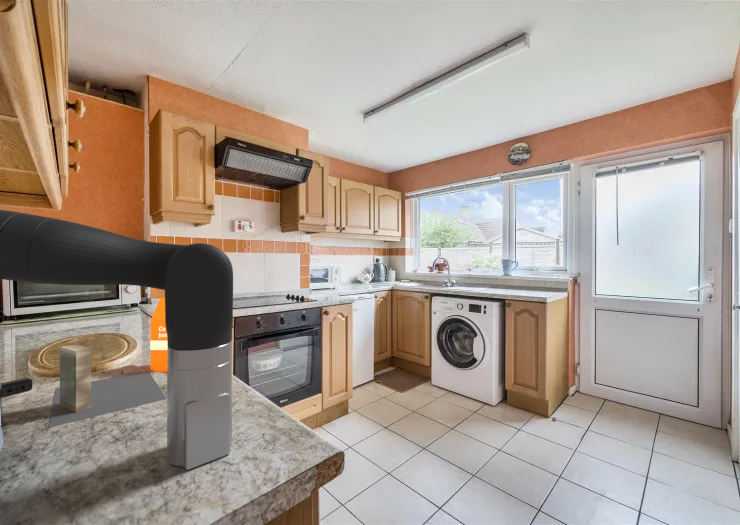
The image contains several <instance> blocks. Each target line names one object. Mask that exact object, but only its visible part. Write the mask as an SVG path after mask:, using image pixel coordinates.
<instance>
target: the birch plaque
mask: <svg viewBox="0 0 740 525" xmlns="http://www.w3.org/2000/svg"><path fill="white" fill-rule="evenodd" d="M91 381H92V348H91V347H87V346H83V345H80V344H70V345H63V346H60V351H59V387H60V405H61V406H63V407H65V408H67V409H69V410H71V411H73V412H75V413H77V412H80V411H83V410H86V409H89V408H91Z"/></svg>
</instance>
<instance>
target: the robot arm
mask: <svg viewBox="0 0 740 525" xmlns="http://www.w3.org/2000/svg"><path fill="white" fill-rule="evenodd" d="M0 280H6V281H13V282H14V281H15V282H16V281H17V282H23V283H24V282H25V283H33V284H45V285H58V286H59V285H62V286H107V285H108V286H111V285H112V286H113V285H114V286H116V285H117V286H119V285H121V286H123V285H125V286H138V287H145V288H151V289H157V290H161V291H163V290H164V298H165V327H166V332H167V346H168V347H167V371H166V378H167V379H166V385H167V386H166V459H167V462H168V463H169V464H171V465H172V466H176V467H182V468H184V469H185V470H186V471H188V470H189V471H190V470H191V469H194V468H196V467H199V466H201V465H205V464H206V463H209V462H212V461H215V460H217V459H220V458H222V457H225V456H227V455H230V453H231V447H232V440H233V438H232V437H233V436H232V435H233V434H232V432H233V431H232V430H233V429H232V428H233V425H232V424H233V421H232V420H233V418H232V417H233V416H232V414H233V413H232V410H233V408H232V406H233V405H232V404H233V399H232V397H233V394H232V391H233V390H232V389H233V386H232V384H233V382H232V381H233V379H232V377H233V376H232V375H233V374H232V373H233V371H232V370H233V366H232V365H233V364H232V363H233V362H232V361H233V326H234V268H233V264H232V262H231V260H230V258H229V257H228V255H227V254H226V252H224V251H223V250H222V249H220V248H218V247H217V246H215V245H212V244H208V243H202V242H198V243H197V242H196V243H190V244H188V245H187V244H176V243H167V242H166V243H165V242H156V241H155V242H154V241H149V240H148V241H147V240H142V239H137V238H134V237H129V236H126V235H122V234H119V233H115V232H112V231H109V230H105V229H101V228H98V227H94V226H89V225H85V224H81V223H78V222H75V221H74V222H73V221H69V220H65V219H59V218H55V217H48V216H42V215H37V214H31V213H25V212H19V211H13V210H12V211H11V210H4V209H0ZM32 389H33V379H31V378H29V377H24V378H18V379H14V380H10V381H7V382H1V383H0V401H1V400H2V399H3V398H7V397H11V396H15V395H19V394H23V393H26V392H30V391H32Z"/></svg>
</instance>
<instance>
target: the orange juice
mask: <svg viewBox="0 0 740 525" xmlns="http://www.w3.org/2000/svg"><path fill="white" fill-rule="evenodd" d="M151 316H152V317H151V318H150V341H149V342H150V347H149V348H150V370H151V371H154V372H167V347H168V346H167V332H166V327H165V297H159V300H158V302H157V305H156V307H155V310H154V312H153V314H152V315H151Z"/></svg>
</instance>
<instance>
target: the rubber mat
mask: <svg viewBox="0 0 740 525" xmlns="http://www.w3.org/2000/svg"><path fill="white" fill-rule="evenodd" d="M52 400H53V401H52V405H51V406H52V407H51V411H50V418H49V424H48V428H53V427H58V426H61V425H65V424H69V423H73V422H78V421H82V420H86V419H90V418H96V417H99V416H102V415H106V414H112V413H115V412H119V411H123V410H127V409H128V410H129V409H131V408H135V407H140V406H144V405H147V404H152V403H155V402H159V401H164V400H167V396H166V395H165V394H164V393H163V391H162V389H161V388H160V386H159V385H158V384H157V382H156V380H155V378H154V377H153V376H152V374H151V373H150V371H149V370H147V371H139V372H136V373H135V372H134V373H129V374H125V375H124V374H123V375H119V376H115V377H114V376H113V377H108V378H104V379H103V378H102V379H97V380H93V381H92V380H91V408H89V409H86V410H83V411H80V412H77V413H75V412H73V411H71V410H69V409H67V408H65V407H63V406H61V405H60V386H58V387H55V390H54V395H53V399H52Z"/></svg>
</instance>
